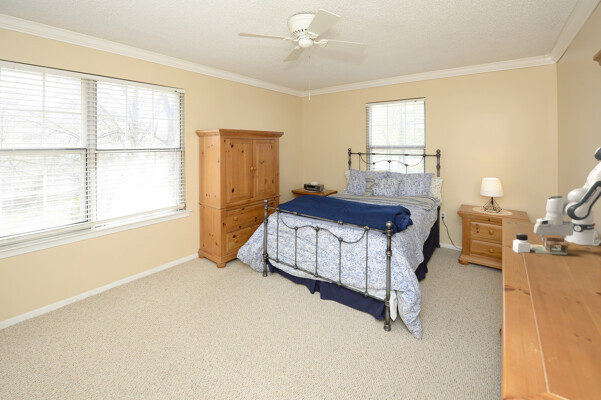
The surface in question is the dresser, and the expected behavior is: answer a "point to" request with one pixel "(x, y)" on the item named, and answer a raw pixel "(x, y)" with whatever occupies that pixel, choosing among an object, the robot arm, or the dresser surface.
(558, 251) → the board
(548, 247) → the brown wooden piece
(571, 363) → the dresser surface
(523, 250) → the medicine bottle
